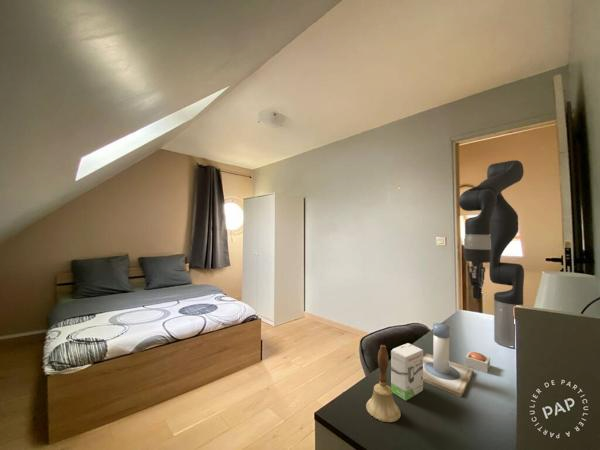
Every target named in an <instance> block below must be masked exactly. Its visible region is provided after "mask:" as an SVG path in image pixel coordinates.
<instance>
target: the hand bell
mask: <svg viewBox="0 0 600 450" xmlns="http://www.w3.org/2000/svg"><path fill="white" fill-rule="evenodd" d="M379 347H380V348H379V350H378V353H377V363H378V367H379V368H378V369H379V382H378V383H376V384H375V385H373V392H372V396H371V397H370V398H369V399H368V400H367V402H366V404H365V408H366V411H367V412H368V413H369V415H370V416H371V417H372V416H373V418H374V419H375V420H377V419H378V421H379V422H383V423H384V422H385V423H394V422H396V421H399V419H400V418H401V416H402V415H401V413H402V412H401V409H400V407H399V406H398V405H397V403H396V402H395V399H394V396H393V394H394V393H393V392H392V389H391V386H390V385H387V370H388V367H389V353H388V350H387V346H386V345H385V344H381V345H380V346H379Z"/></svg>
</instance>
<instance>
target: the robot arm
mask: <svg viewBox="0 0 600 450" xmlns="http://www.w3.org/2000/svg"><path fill="white" fill-rule="evenodd" d="M524 172H525V171H524V165H523V163H522V162H521V160H520V161H519V160H516V159H515V160H513V159H512V160H508V161H501V162H497V163H496V162H495V163H491V164H490V165H489V166H488V168H487V170H486V175H487V176H486V178H485V179H484V180H483V181H482V182H481V183H479V184H478V185H477V186H474V187H471V188H469V189H467V190H465V191H463V192H462V193H461V194H460V196H459V198H458V206H459V207H460V208H461V209H462V210H463V211H466V212H473V211H475V212H476V211H480V213H479V214H477V215H476V216H473V217H469V218H467V219H465V221H464V241H463V243H464V244H463V245H464V246H463V248H464V249H463V251H464V252H463V258H464V261H465V262H471V265H470V266H469V267H468V268H469V269H468V270H469V273H468V275H469V280H470V285H471V287H472V298H474V299H477V300H481V299H482V298H483V294H482V293H483V291H482V289H483V287H484V285H485V283H484V281H485V275H486V274H485V272H486V267H485V266H484V263H485V264H488V263H489V280H490V281H491V282H492V283H493V284H495V285H496V284H497V285H503V286H510V287H511V286H512V288H511V289H510V290H505V291H498V292H495V293H494V294H493V301H494V302H493V312H494V313H493V318H494V319H493V324H494V325H493V326H494V327H493V331H494V333H493V335H494V336H493V340H494V341H493V342H496V343H497V344H499V345H501V346H503V347H505V348H506V347H507V348H510V347H509V346H513V348H512V349H516V348H515V324H514V316H513V307H514V306H516V305H521V306H523V307H524V282H525V268H524V266H523V265H522V264H520V263H513V262H501V257H502V255H503V253H504V251H505V250H506V248H507V247H508V246H509V244H510V243H511V242H512V241H513V240H514V239H515V237H516V236H517V234H518V233H519V214H518V213H517V211H516V210H515V209H514V208H513V206H512V205H510V203H509V202H508V201H507V200H506V199H505V197H504V196H503V194H502V192H503V191H504V190H506V189H508V188H509V187H512V186H513V185H514V184H517V183H519V182H520V181H521V180H522V179H523V177H524Z"/></svg>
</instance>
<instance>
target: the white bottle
mask: <svg viewBox="0 0 600 450" xmlns="http://www.w3.org/2000/svg"><path fill="white" fill-rule="evenodd" d="M432 335H433V337H432V339H433V340H432V341H433V348H432V349H433V350H432V351H433V353H432V355H433V368H434V370H435V371H437V372H439V373H443V374H448V373H449V361H450V326H449V325H448V324H444V323H440V322H433V324H432Z"/></svg>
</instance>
